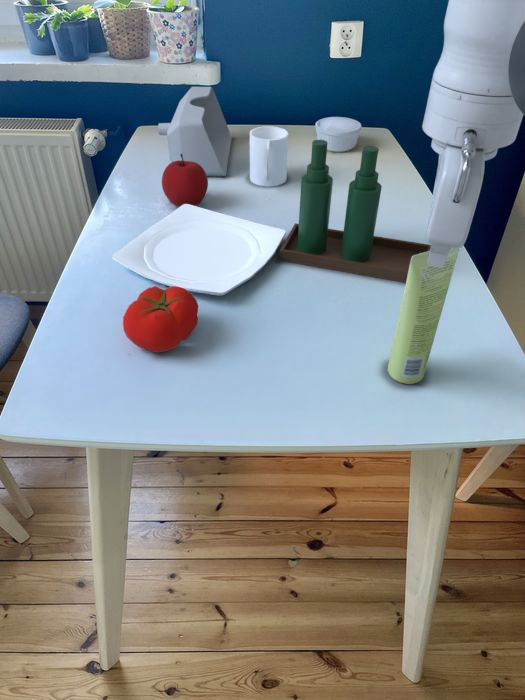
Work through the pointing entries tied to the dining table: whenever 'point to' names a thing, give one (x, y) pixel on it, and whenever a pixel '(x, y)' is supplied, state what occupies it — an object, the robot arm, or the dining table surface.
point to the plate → (201, 250)
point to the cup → (268, 156)
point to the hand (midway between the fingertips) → (438, 241)
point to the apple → (184, 183)
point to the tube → (419, 317)
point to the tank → (199, 132)
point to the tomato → (161, 318)
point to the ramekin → (338, 132)
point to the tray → (383, 263)
